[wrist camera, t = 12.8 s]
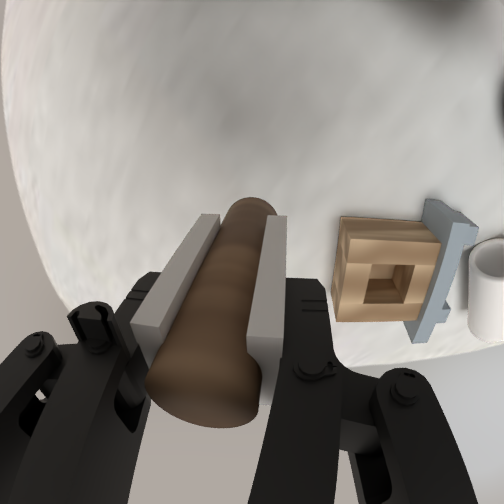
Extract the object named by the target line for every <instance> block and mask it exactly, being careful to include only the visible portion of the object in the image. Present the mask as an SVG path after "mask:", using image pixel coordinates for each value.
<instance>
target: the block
mask: <svg viewBox="0 0 504 504" xmlns="http://www.w3.org/2000/svg"><path fill="white" fill-rule="evenodd" d="M441 244H442V243H441V242H440V241H439V240H438V239H437V238H436V237H435V235H434V234H433V233H432V232H431V231H430V230H429V229H428V228H427V227H426V226H425V225H424V224H423V223H422V222H416V221H402V220H388V219H373V218H356V217H341V220H340V229H339V238H338V246H337V254H336V261H335V268H334V275H333V282H332V288H331V296H332V301H333V307H334V313H335V318H336V322H384V321H414V320H417V318H418V315H419V313H420V310H421V307H422V305H423V302H424V299H425V296H426V293H427V290H428V288H429V285H430V282H431V278H432V275H433V272H434V269H435V266H436V262H437V259H438V255H439V252H440V248H441Z"/></svg>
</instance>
